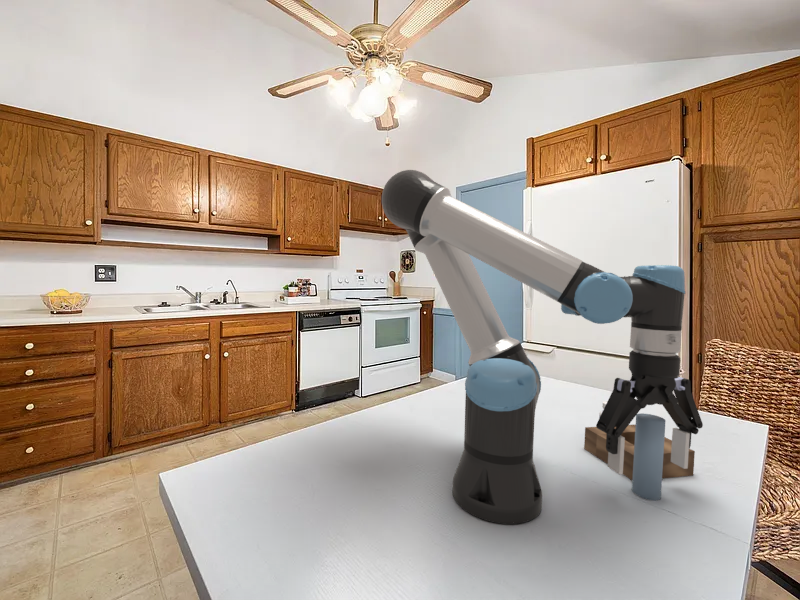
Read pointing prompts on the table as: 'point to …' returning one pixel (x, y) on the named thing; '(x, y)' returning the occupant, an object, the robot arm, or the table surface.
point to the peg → (648, 456)
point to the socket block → (597, 447)
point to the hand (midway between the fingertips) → (647, 467)
